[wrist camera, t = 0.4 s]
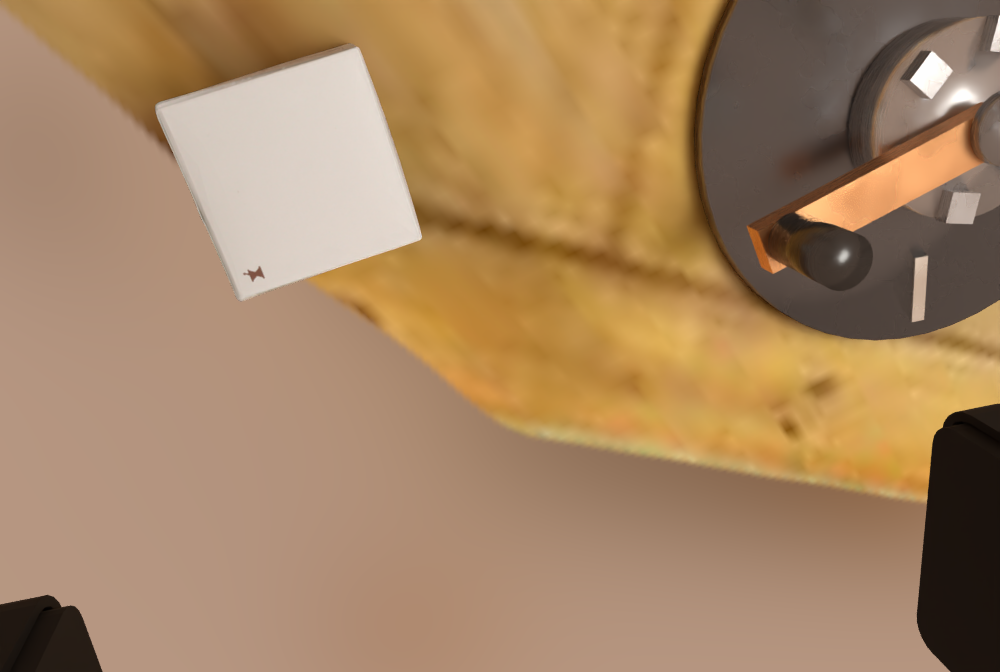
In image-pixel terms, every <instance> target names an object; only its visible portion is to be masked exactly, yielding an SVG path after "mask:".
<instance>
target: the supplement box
mask: <svg viewBox="0 0 1000 672" xmlns="http://www.w3.org/2000/svg"><path fill="white" fill-rule="evenodd" d="M155 112H156V115H157V118H158V120H159V122H160V124H161V127H162V129H163V132H164V134H165V136H166V138H167V141H168V143H169V145H170V147H171V149H172V152H173V154H174V156H175V158H176V161H177V163H178V165H179V168H180V170H181V172H182V174H183V177H184V179H185V181H186V183H187V186H188V188H189V190H190V193H191V195H192V197H193V200H194V202H195V205H196V207H197V210H198V212H199V215H200V217H201V220H202V221H203V223H204V225H205V226H206V228H207V231H208V233H209V235H210V238H211V240H212V242H213V245H214V247H215V249H216V251H217V254H218V256H219V258H220V261H221V263H222V265H223V268H224V270H225V272H226V275H227V277H228V279H229V281H230V284H231V286H232V288H233V291H234V293H235V296H236V298H237V300H238V301H244V300H247V299H250V298H252V297H255V296H258V295H261V294H264V293H267V292H270V291H272V290H275V289H278V288H281V287H284V286H287V285H290V284H292V283H296V282H298V281H301V280H304V279H307V278H310V277H313V276H316V275H318V274H321V273H324V272H327V271H330V270H333V269H336V268H338V267H341V266H344V265H347V264H350V263H353V262H356V261H359V260H362V259H365V258H368V257H371V256H374V255H377V254H380V253H383V252H386V251H389V250H392V249H396V248H398V247H401V246H404V245H407V244H410V243H413V242H416V241H419V240H421V238H422V235H421V231H420V227H419V224H418V220H417V217H416V213H415V210H414V206H413V203H412V199H411V196H410V193H409V189H408V186H407V183H406V180H405V176H404V173H403V170H402V167H401V164H400V160H399V157H398V154H397V151H396V148H395V145H394V142H393V139H392V136H391V133H390V130H389V127H388V124H387V121H386V118H385V116H384V113H383V110H382V107H381V104H380V102H379V99H378V96H377V93H376V91H375V88H374V85H373V83H372V80H371V77H370V75H369V72H368V69H367V67H366V64H365V61H364V59H363V56H362V54H361V51H360V49H359V47H356V46H355V45H353V44H351V43H348V44H345V45H342V46H339V47H335V48H332V49H329V50H325V51H322V52H319V53H315V54H312V55H309V56H305V57H302V58H298V59H295V60H292V61H289V62H286V63H282V64H279V65H276V66H273V67H270V68H266V69H263V70H260V71H257V72H254V73H251V74H247V75H244V76H241V77H238V78H235V79H232V80H229V81H226V82H223V83H220V84H217V85H213V86H210V87H207V88H204V89H201V90H198V91H195V92H191V93H188V94H185V95H181V96H178V97H175V98H171V99H168V100H165V101H161V102H158V103H157V104H156V105H155Z"/></svg>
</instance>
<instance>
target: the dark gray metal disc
mask: <svg viewBox="0 0 1000 672" xmlns="http://www.w3.org/2000/svg"><path fill="white" fill-rule="evenodd" d="M987 15H1000V0H730V1H729V3H728V5H727V8H726V10H725V12H724V14H723V16H722V19H721V21H720V23H719V25H718V27H717V30H716V32H715V34H714V37H713V40H712V43H711V46H710V50H709V53H708V56H707V59H706V62H705V65H704V69H703V73H702V78H701V83H700V88H699V93H698V98H697V105H696V117H695V128H694V147H695V168H696V174H697V180H698V186H699V192H700V197H701V200H702V204H703V207H704V210H705V214H706V217H707V220H708V223H709V225H710V228H711V230H712V232H713V234H714V236H715V238H716V241H717V243H718V245H719V247H720V249H721V250H722V252H723V254H724V255H725V257H726V258H727V260H728V261H729V263H730V264H731V266H732V267H733V269H734V270H735V271H736V273H737V274H738V275H739V276H740V277H741V278H742V279H743V280H744V281H745V283H746V284H747V285H748V286H749V287H750V288H751V289H752V290H753V291H754V292H755V293H757V294H758V295H759V296H760V297H762V298H763V299H764V300H765V301H766V302H768V303H769V304H770V305H772V306H773V307H775V308H776V309H778V310H779V311H781V312H783V313H784V314H786V315H788V316H790V317H791V318H793V319H795V320H796V321H798V322H800V323H802V324H804V325H806V326H809V327H811V328H814V329H817V330H819V331H822V332H824V333H828V334H832V335H837V336H841V337H846V338H852V339H866V340H885V339H900V338H905V337H910V336H915V335H920V334H925V333H929V332H932V331H935V330H938V329H941V328H944V327H947V326H950V325H953V324H955V323H957V322H959V321H961V320H964V319H966V318H968V317H970V316H972V315H974V314H977V313H978V312H980V311H982V310H983V309H985V308H987V307H988V306H990V305H992V304H993V303H995V302H997V301H998V300H1000V205H999V206H998V207H996V208H994V209H993V210H990V211H988V212H986V213H984V214H981V215H978V216H975V217H974V221H973V224H952V223H943V222H940V221H937V220H935V218H932V217H928V216H925V215H922V214H919V213H915V212H912V211H909V210H906V209H903V208H900V207H899V208H897V209H895V210H893V211H891V212H889V213H887V214H886V215H884V216H882V217H880V218H878V219H876V220H874V221H872V222H870V223H869V224H867V225H865V226H863V227H861V228H859V229H857V230H855V231H853V232H855V233H857V234H860V235H862V236H863V237H865V238H866V239H867V240H868V241H869V243H870V245H871V247H872V250H873V261H872V266H871V268H870V271H869V272H868V274H867V276H866V277H865V278H864V279H863V281H861V282H860V283H859V284H858V285H857V286H855V287H853V288H851V289H849V290H845V291H834V290H831V289H829V288H827V287H825V286H823V285H821V284H819V283H817V282H816V281H814V280H812V279H810V278H808V277H806V276H804V275H802V274H800V273H798V272H797V271H795V270H793V269H791V268H789V267H785V268H783V269H782V270H780V271H778V272H776V273H774V274H772V273H771V272H769V271H767V270H765V269H763V268H762V267H761V265H760V262H759V259H758V257H757V254H756V251H755V248H754V245H753V243H752V240H751V237H750V234H749V231H748V229H747V225H749V224H751V223H753V222H755V221H757V220H759V219H761V218H762V217H764V216H766V215H768V214H770V213H772V212H774V211H776V210H778V209H779V208H781V207H783V206H785V205H787V204H789V203H791V202H793V201H795V200H796V199H798V198H800V197H802V196H804V195H806V194H808V193H810V192H812V191H813V190H815V189H817V188H819V187H821V186H823V185H825V184H827V183H829V182H830V181H832V180H834V179H836V178H838V177H840V176H842V175H844V174H846V173H848V172H849V171H851V170H853V169H855V167H854V164H853V162H852V158H851V154H850V149H849V137H848V136H849V120H850V114H851V109H852V105H853V102H854V98H855V96H856V93H857V90H858V88H859V86H860V84H861V82H862V80H863V78H864V76H865V74H866V72H867V71H868V69H869V68H870V66H871V65H872V63H873V62H874V61H875V59H876V58H877V57H878V56H879V54H880V53H881V52H882V51H883V50H884V49H885V48H886V47H887V46H888V45H889V44H890V43H891V42H892V41H894V40H895V39H896V38H898V37H899V36H900V35H901V34H903V33H905V32H906V31H908V30H910V29H911V28H913V27H915V26H917V25H920V24H922V23H924V22H928V21H931V20H934V19H941V18H951V17H987Z"/></svg>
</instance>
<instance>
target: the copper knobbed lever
mask: <svg viewBox="0 0 1000 672" xmlns="http://www.w3.org/2000/svg"><path fill="white" fill-rule="evenodd" d="M848 137H849V149H850V154H851V158H852V162H853V164H854V167H855V169H853V170H851V171H849V172H848V173H846V174H844V175H842V176H840V177H838V178H836V179H834V180H832V181H830V182H829V183H827V184H825V185H823V186H821V187H819V188H817V189H815V190H813V191H812V192H810V193H808V194H806V195H804V196H802V197H800V198H798V199H796V200H795V201H793V202H791V203H789V204H787V205H785V206H783V207H781V208H779V209H778V210H776V211H774V212H772V213H770V214H768V215H766V216H764V217H762V218H761V219H759V220H757V221H755V222H753V223H751V224H749V225H747V229H748V231H749V234H750V237H751V240H752V243H753V245H754V248H755V251H756V254H757V257H758V259H759V262H760V265H761V267H762V268H763V269H765V270H767V271H769V272H771V273H772V274H774V273H776V272H778V271H780V270H782V269H783V268H785V267H789V268H791V269H793V270H795V271H797V272H798V273H800V274H802V275H804V276H806V277H808V278H810V279H812V280H814V281H816V282H817V283H819V284H821V285H823V286H825V287H827V288H829V289H831V290H834V291H845V290H849V289H851V288H853V287H855V286H857V285H858V284H859V283H860V282H861V281H863V279H864V278H865V277H866V276H867V274H868V272H869V271H870V268H871V266H872V261H873V250H872V247H871V245H870V243H869V241H868V240H867V239H866V238H865V237H863V236H862V235H860V234H857V233H855V232H853V231H855V230H857V229H859V228H861V227H863V226H865V225H867V224H869V223H870V222H872V221H874V220H876V219H878V218H880V217H882V216H884V215H886V214H887V213H889V212H891V211H893V210H895V209H897V208H899V207H900V208H903V209H906V210H909V211H912V212H915V213H919V214H922V215H925V216H928V217H932V218H935V220H937V221H940V222H943V223H952V224H973V221H974V217H975V216H978V215H981V214H984V213H986V212H988V211H990V210H993V209H994V208H996V207H998V206H999V205H1000V15H987V17H951V18H941V19H934V20H931V21H928V22H924V23H922V24H920V25H917V26H915V27H913V28H911V29H910V30H908V31H906V32H905V33H903V34H901V35H900V36H899V37H898V38H896V39H895V40H894V41H892V42H891V43H890V44H889V45H888V46H887V47H886V48H885V49H884V50H883V51H882V52H881V53H880V54H879V56H878V57H877V58H876V59H875V61H874V62H873V63H872V65H871V66H870V68H869V69H868V71H867V72H866V74H865V76H864V78H863V80H862V82H861V84H860V86H859V88H858V90H857V93H856V96H855V98H854V102H853V105H852V109H851V114H850V120H849V136H848Z"/></svg>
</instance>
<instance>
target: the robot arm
mask: <svg viewBox="0 0 1000 672" xmlns="http://www.w3.org/2000/svg"><path fill="white" fill-rule="evenodd" d="M917 624H918V628H919V631H920V634H921V637H922V639H923V640H924V642H925V644H926V646H927V647H928V648H929V649H930V651H931V652H932V653H933V654H934V655H935V656H936V657H937V658H938V659H939V660H940V661H941V662H942V663H943V664H944V665H945V666H946V667H947V669H948V670H949V671H950V672H1000V404H994V405H989V406H984V407H979V408H974V409H969V410H964V411H959V412H954V413H953V414H951V415H949V416H948V417H947V419H946V420H945V422H944V424H943V428H941V429H940V430H938V431H937V432H936V434H935V435H934V439H933V444H932V455H931V466H930V477H929V488H928V499H927V511H926V521H925V532H924V544H923V553H922V564H921V575H920V587H919V597H918V609H917ZM0 672H102V669H101V666H100V664H99V661H98V659H97V656H96V653H95V650H94V648H93V645H92V642H91V639H90V637H89V634H88V632H87V629H86V626H85V623H84V620H83V618H82V616H81V614H80V612H79V610H78V609H77V608H76V607H75V606H66V607H61V605H60V603H59V602H58V601H57V600H56V599H55V598H54V597H52V596H49V595H45V596H40V597H35V598H30V599H25V600H20V601H16V602H11V603H6V604H1V605H0Z"/></svg>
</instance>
